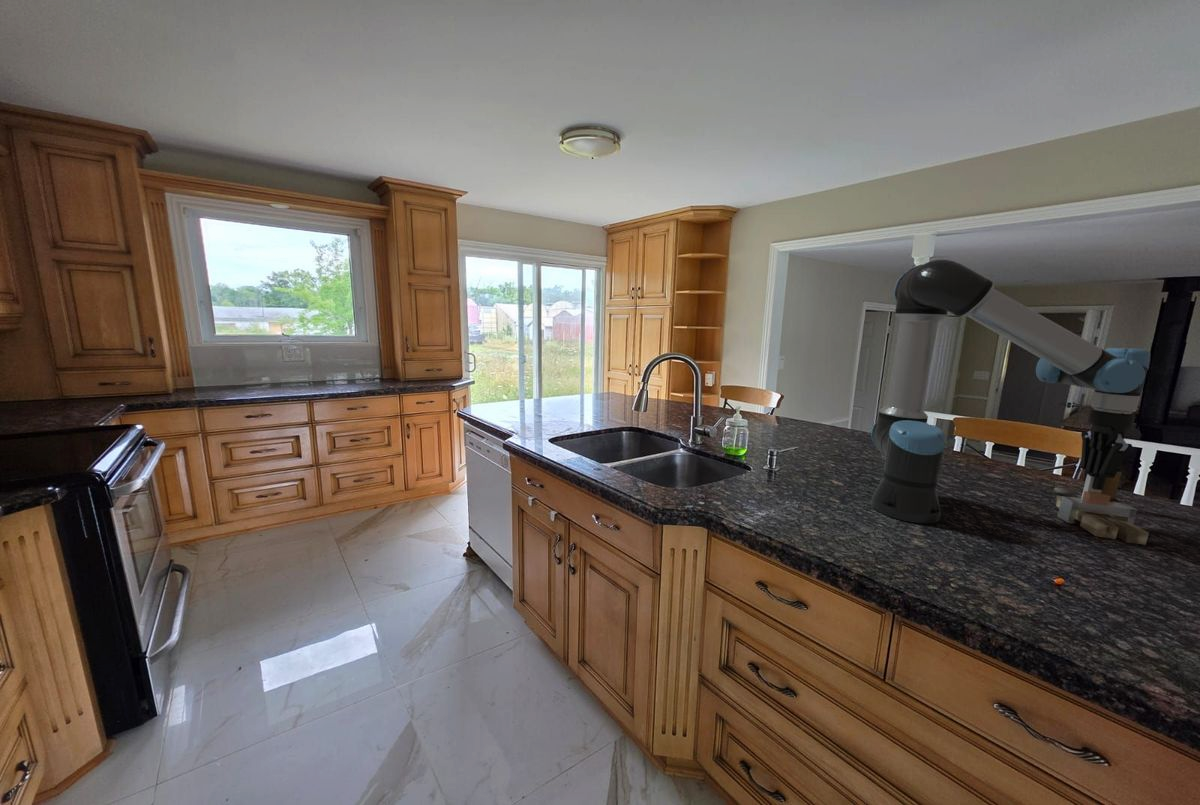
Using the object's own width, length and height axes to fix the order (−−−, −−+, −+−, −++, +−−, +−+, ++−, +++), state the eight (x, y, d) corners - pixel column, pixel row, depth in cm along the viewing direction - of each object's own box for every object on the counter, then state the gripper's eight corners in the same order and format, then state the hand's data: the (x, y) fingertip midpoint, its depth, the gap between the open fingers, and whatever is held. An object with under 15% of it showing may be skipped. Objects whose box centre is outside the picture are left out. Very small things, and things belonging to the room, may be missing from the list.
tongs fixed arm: (1116, 540, 104) (1120, 528, 104) (1052, 503, 126) (1054, 492, 126) (1145, 544, 103) (1149, 531, 102) (1075, 505, 125) (1077, 495, 124)
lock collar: (1067, 522, 113) (1074, 494, 111) (1057, 516, 117) (1063, 488, 115) (1131, 531, 109) (1139, 501, 108) (1118, 524, 113) (1126, 495, 111)
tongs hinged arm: (1095, 536, 106) (1100, 519, 105) (1040, 499, 128) (1044, 485, 127) (1129, 541, 104) (1134, 524, 103) (1067, 503, 126) (1071, 488, 125)
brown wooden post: (1126, 512, 121) (1143, 449, 118) (1098, 509, 123) (1114, 447, 119) (1104, 503, 128) (1120, 442, 124) (1077, 500, 129) (1092, 441, 126)
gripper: (1155, 417, 103) (1129, 512, 107) (1111, 407, 115) (1090, 492, 119) (1113, 414, 105) (1089, 507, 109) (1075, 404, 117) (1055, 488, 122)
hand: (1090, 499), depth 114 cm, fingers closed
